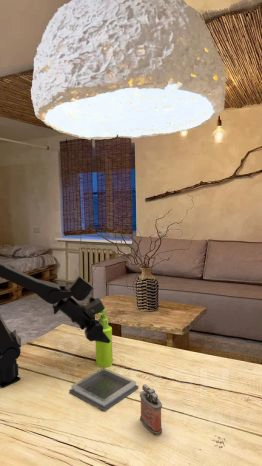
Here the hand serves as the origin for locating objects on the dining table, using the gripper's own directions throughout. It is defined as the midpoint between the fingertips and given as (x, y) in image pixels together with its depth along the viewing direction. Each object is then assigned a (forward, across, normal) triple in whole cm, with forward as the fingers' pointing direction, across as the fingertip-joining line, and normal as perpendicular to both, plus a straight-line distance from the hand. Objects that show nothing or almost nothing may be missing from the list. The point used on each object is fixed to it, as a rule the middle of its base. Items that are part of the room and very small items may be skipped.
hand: (106, 336), depth 122 cm
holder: (+3, -16, +11) cm, 20 cm away
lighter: (+9, -36, +6) cm, 38 cm away
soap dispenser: (+6, 0, +8) cm, 10 cm away
